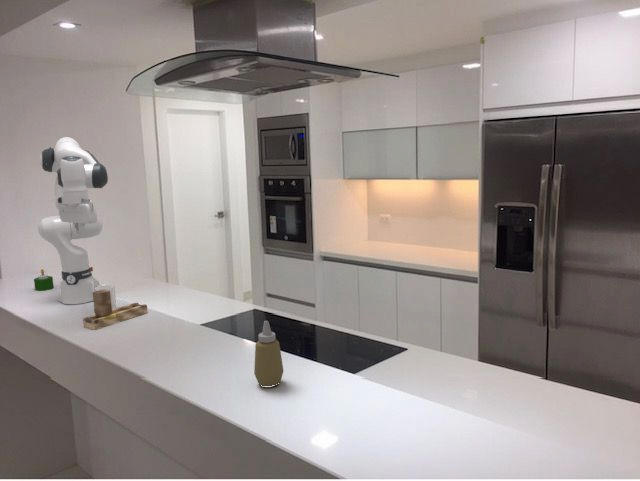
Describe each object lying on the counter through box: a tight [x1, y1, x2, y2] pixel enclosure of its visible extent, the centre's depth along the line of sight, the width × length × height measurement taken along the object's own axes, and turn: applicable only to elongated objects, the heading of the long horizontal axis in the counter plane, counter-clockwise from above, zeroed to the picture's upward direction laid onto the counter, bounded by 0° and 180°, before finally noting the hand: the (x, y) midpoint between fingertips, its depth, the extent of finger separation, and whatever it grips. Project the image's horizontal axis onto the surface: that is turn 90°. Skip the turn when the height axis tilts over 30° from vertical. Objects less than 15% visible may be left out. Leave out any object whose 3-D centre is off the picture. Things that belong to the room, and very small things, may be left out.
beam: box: [82, 302, 149, 331], centre depth 215 cm, size 24×7×4 cm, turn 145°
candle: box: [33, 268, 55, 292], centre depth 270 cm, size 8×8×10 cm
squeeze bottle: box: [253, 320, 284, 386], centre depth 149 cm, size 8×8×18 cm
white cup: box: [95, 284, 117, 309], centre depth 229 cm, size 8×8×10 cm
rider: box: [93, 290, 112, 318], centre depth 209 cm, size 4×4×10 cm
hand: (80, 234), depth 213 cm, fingers closed
